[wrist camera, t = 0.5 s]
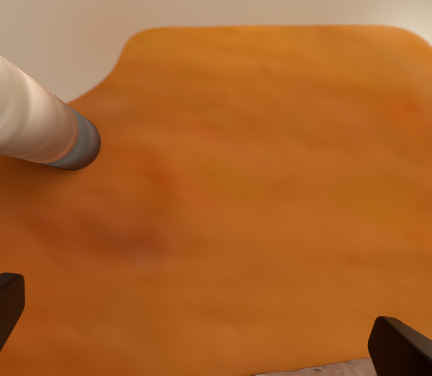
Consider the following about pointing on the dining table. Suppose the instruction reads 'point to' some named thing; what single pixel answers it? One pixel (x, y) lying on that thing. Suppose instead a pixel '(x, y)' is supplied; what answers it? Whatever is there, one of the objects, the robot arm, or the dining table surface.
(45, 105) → the white upright cylinder
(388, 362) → the robot arm
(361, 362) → the brick
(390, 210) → the dining table surface
